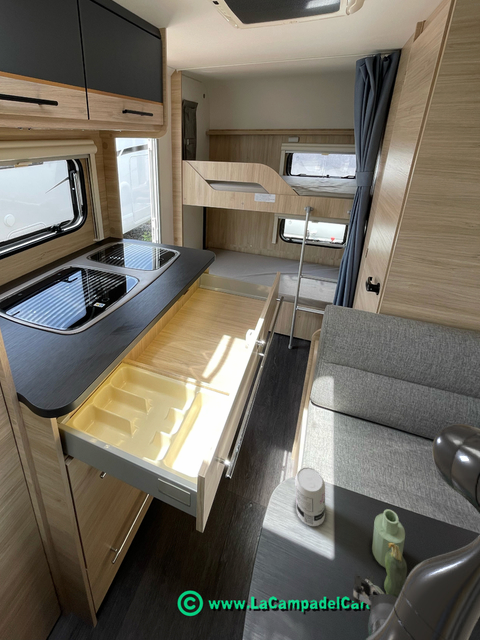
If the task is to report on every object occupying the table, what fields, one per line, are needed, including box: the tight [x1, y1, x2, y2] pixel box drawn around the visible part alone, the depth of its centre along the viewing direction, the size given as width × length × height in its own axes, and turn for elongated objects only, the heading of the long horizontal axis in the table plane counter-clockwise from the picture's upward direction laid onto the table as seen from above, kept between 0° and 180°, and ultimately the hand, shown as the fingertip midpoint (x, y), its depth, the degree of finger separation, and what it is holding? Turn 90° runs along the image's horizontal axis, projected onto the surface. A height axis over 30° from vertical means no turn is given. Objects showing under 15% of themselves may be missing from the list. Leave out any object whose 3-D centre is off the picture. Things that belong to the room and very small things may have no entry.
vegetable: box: [383, 543, 408, 598], centre depth 76 cm, size 4×4×20 cm
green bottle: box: [371, 508, 406, 569], centre depth 84 cm, size 7×7×16 cm
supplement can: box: [294, 466, 326, 527], centre depth 96 cm, size 8×8×15 cm
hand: (394, 594), depth 67 cm, fingers open, 8 cm apart
